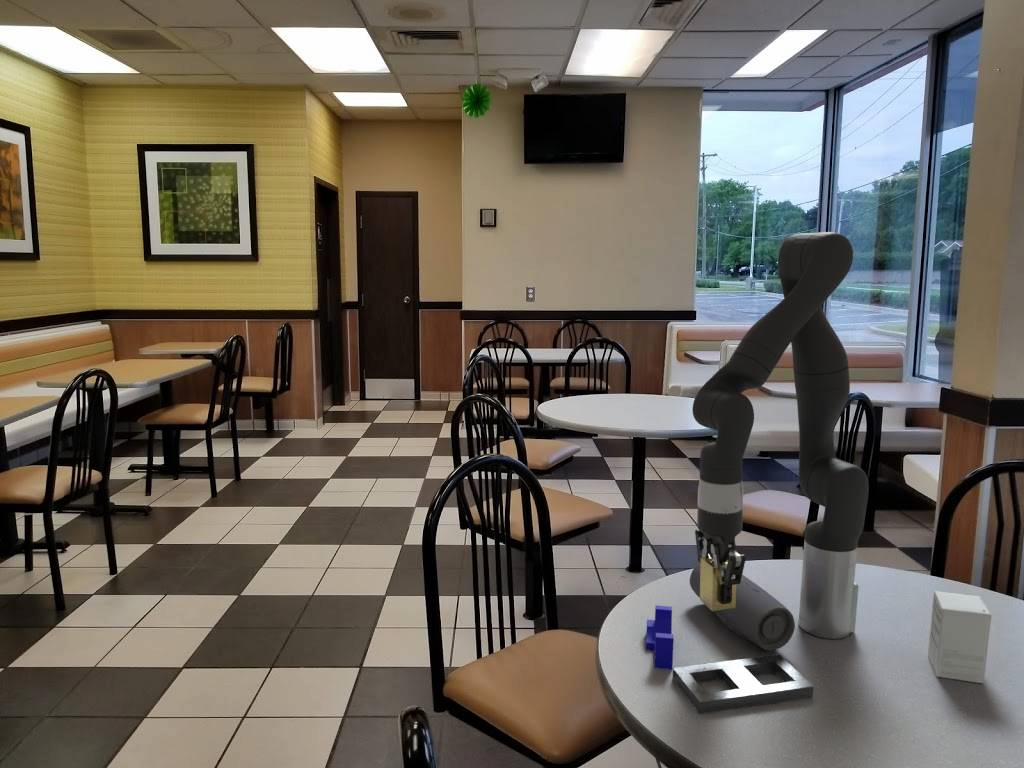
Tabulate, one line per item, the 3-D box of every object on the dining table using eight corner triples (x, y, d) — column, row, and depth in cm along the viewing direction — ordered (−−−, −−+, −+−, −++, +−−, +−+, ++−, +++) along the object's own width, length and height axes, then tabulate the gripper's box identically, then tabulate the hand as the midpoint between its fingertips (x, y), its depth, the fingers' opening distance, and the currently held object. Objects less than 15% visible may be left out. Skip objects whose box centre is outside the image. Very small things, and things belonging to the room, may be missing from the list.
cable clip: (646, 634, 143) (647, 604, 142) (670, 636, 142) (671, 606, 141) (645, 668, 131) (647, 636, 130) (672, 670, 130) (673, 638, 129)
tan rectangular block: (722, 596, 135) (723, 554, 134) (735, 607, 131) (736, 564, 129) (699, 599, 134) (700, 557, 133) (711, 611, 130) (712, 567, 128)
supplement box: (973, 662, 133) (981, 595, 130) (984, 685, 126) (992, 614, 123) (926, 655, 135) (933, 589, 133) (934, 677, 128) (942, 607, 126)
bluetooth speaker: (796, 652, 136) (799, 601, 134) (751, 661, 133) (754, 608, 131) (725, 598, 157) (728, 552, 155) (686, 604, 154) (688, 558, 153)
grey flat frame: (778, 664, 132) (779, 654, 131) (812, 697, 122) (813, 686, 122) (672, 678, 127) (672, 668, 127) (699, 713, 118) (700, 702, 117)
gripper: (762, 515, 123) (758, 612, 126) (719, 489, 137) (717, 576, 140) (720, 520, 122) (718, 618, 125) (681, 493, 135) (680, 581, 138)
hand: (717, 595), depth 132 cm, fingers closed on tan rectangular block, 4 cm apart
